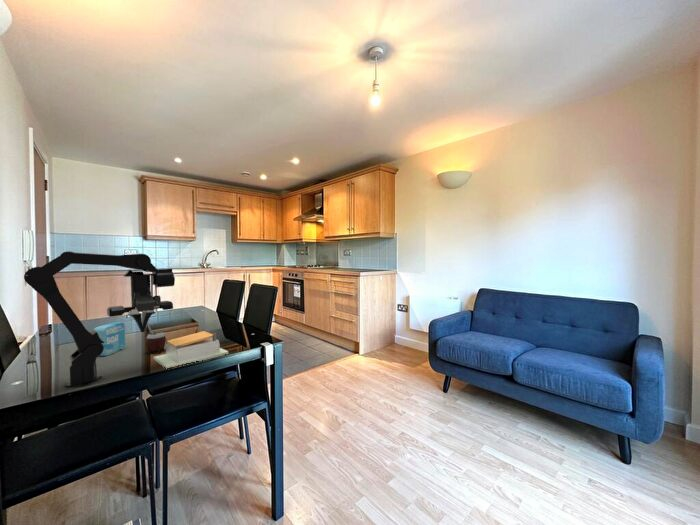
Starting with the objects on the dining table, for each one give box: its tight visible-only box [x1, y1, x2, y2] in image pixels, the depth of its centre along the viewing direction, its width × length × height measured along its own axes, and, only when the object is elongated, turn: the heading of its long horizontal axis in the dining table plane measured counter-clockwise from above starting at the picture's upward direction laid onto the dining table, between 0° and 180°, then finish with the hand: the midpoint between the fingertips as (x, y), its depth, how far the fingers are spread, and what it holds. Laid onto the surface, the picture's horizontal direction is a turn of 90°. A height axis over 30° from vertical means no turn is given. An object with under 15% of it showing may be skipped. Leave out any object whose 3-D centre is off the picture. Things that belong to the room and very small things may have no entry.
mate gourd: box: [141, 318, 167, 355], centre depth 124 cm, size 8×8×15 cm
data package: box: [93, 321, 126, 357], centre depth 126 cm, size 12×4×12 cm, turn 4°
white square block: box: [165, 327, 221, 363], centre depth 117 cm, size 15×15×8 cm
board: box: [153, 347, 229, 370], centre depth 117 cm, size 22×17×1 cm
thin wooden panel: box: [167, 330, 213, 348], centre depth 117 cm, size 14×11×1 cm
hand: (142, 332), depth 105 cm, fingers closed
